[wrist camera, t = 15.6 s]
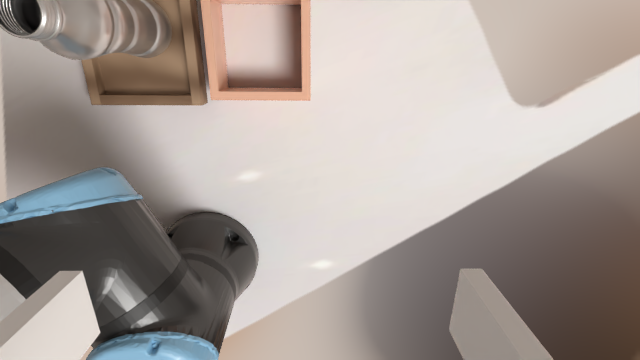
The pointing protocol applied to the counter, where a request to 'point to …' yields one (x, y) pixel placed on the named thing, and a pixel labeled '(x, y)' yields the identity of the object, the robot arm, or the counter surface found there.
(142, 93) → the tray
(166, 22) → the plastic bottle
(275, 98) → the wooden box frame
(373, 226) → the counter surface
